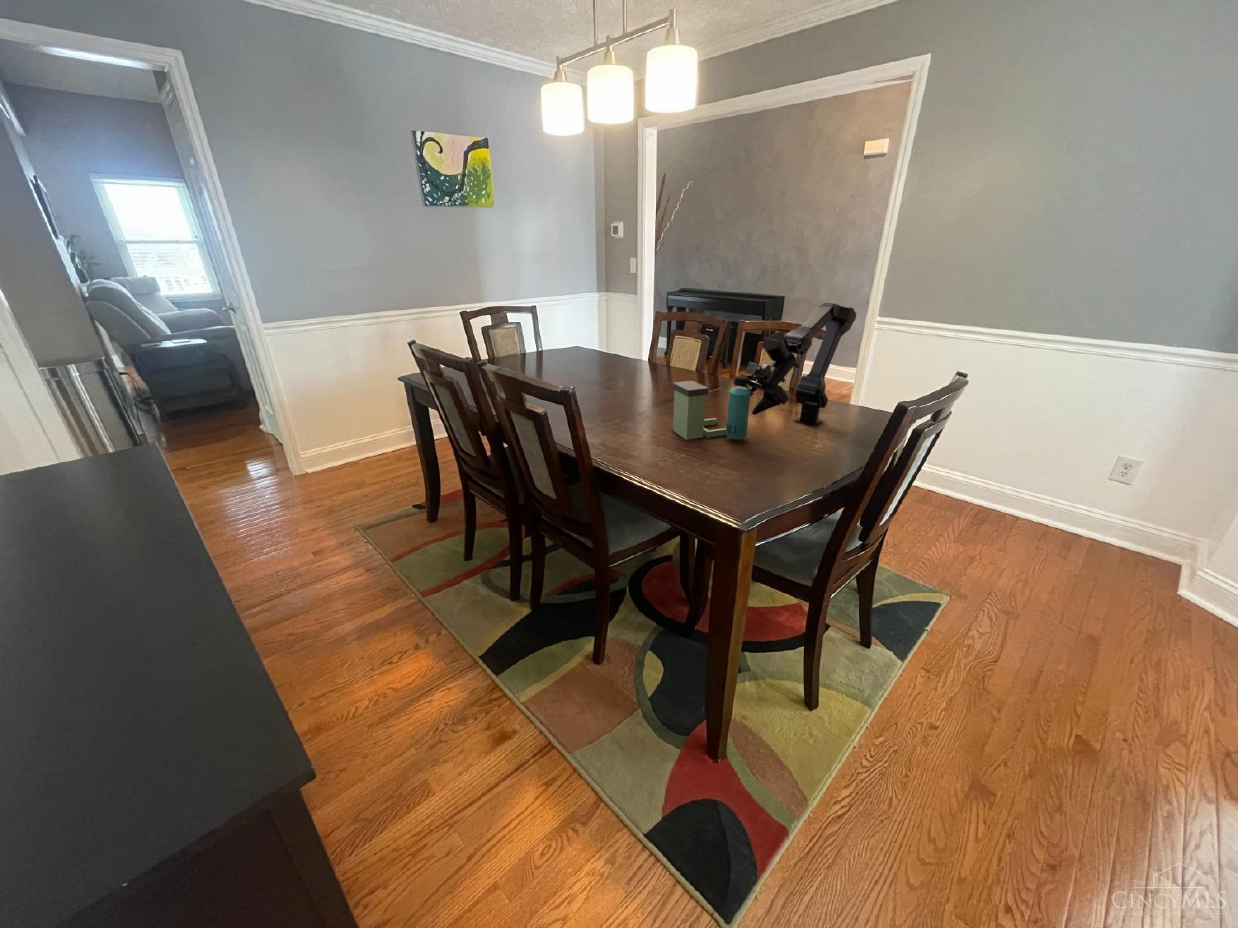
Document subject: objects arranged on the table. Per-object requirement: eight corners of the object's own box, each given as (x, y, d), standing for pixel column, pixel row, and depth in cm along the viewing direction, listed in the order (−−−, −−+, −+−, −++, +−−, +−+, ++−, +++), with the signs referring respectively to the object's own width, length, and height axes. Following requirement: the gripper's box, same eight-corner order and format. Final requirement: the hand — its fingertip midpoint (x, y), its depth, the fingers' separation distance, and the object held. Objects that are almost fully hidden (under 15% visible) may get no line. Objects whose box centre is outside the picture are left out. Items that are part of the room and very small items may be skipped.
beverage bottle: (747, 437, 154) (753, 374, 145) (745, 445, 148) (752, 380, 140) (726, 435, 155) (731, 373, 147) (723, 443, 150) (729, 378, 141)
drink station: (714, 423, 166) (718, 377, 160) (733, 433, 157) (737, 384, 151) (670, 430, 161) (671, 382, 154) (686, 441, 151) (689, 390, 145)
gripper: (745, 346, 151) (712, 385, 151) (785, 358, 135) (747, 401, 136) (763, 369, 156) (731, 407, 157) (804, 383, 141) (768, 425, 141)
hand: (743, 409), depth 148 cm, fingers open, 9 cm apart
